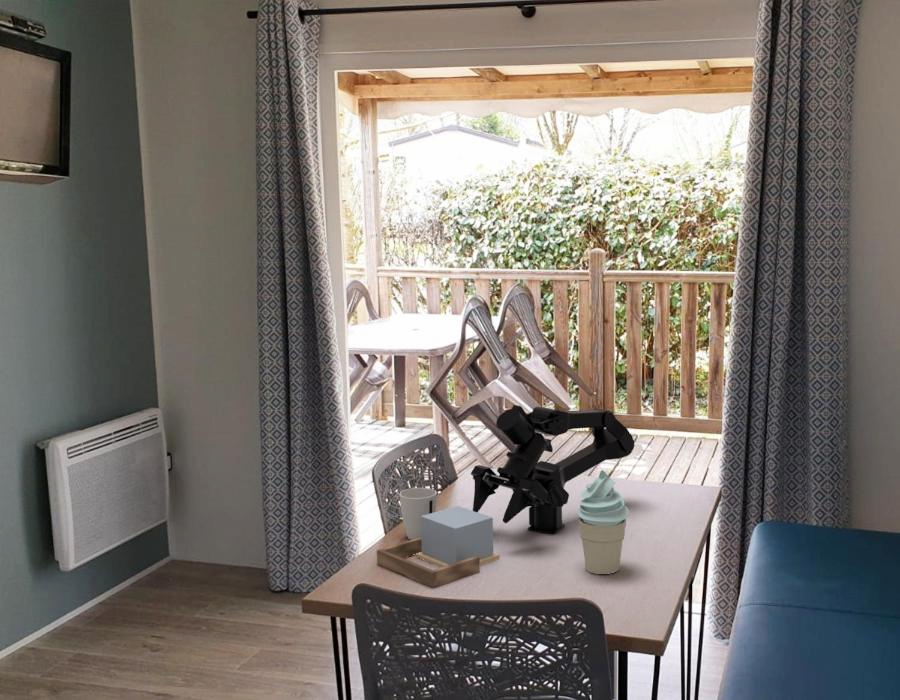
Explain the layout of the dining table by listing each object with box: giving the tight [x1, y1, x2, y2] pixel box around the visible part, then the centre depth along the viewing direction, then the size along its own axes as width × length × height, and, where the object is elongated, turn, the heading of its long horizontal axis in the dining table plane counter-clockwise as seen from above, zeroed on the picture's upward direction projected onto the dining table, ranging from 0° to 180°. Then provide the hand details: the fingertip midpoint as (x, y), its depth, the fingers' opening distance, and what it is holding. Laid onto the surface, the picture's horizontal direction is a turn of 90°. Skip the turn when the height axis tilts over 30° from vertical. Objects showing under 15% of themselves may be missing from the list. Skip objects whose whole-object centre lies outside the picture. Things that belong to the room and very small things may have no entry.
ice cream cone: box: [577, 469, 630, 575], centre depth 196 cm, size 10×11×20 cm
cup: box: [399, 487, 438, 540], centre depth 219 cm, size 8×8×10 cm
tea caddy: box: [415, 505, 500, 568], centre depth 205 cm, size 12×12×9 cm
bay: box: [376, 537, 481, 589], centre depth 200 cm, size 12×18×3 cm
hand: (489, 517), depth 211 cm, fingers open, 9 cm apart
